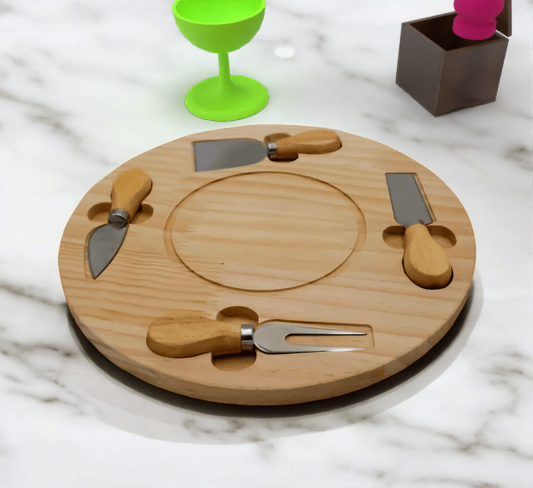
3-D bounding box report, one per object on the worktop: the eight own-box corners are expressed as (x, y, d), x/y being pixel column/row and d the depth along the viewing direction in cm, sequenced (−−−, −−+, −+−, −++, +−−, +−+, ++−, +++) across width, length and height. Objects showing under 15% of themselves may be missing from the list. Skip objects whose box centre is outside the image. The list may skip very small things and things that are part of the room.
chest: (434, 117, 115) (444, 54, 107) (395, 82, 125) (401, 22, 117) (495, 101, 119) (509, 39, 111) (452, 68, 128) (462, 9, 120)
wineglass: (271, 118, 117) (268, 21, 105) (182, 123, 117) (169, 27, 105) (266, 75, 129) (263, -17, 117) (186, 80, 129) (174, -12, 116)
